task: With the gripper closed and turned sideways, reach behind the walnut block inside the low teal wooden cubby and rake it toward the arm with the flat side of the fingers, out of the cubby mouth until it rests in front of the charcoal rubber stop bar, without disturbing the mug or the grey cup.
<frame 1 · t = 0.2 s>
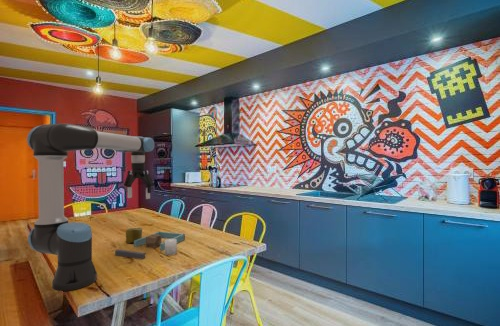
hand: (138, 198, 160), 27 cm above the table, fingers open, 13 cm apart
grey cup: (170, 253, 143), on the table
walnut block: (153, 246, 155), on the table
mug: (135, 241, 166), on the table
cubby: (160, 243, 161), on the table
stop bar: (130, 256, 139), on the table
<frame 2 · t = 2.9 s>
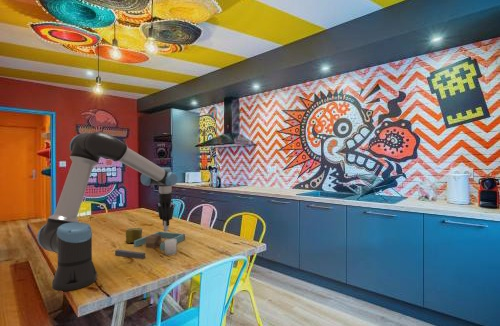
hand: (166, 230, 166), 6 cm above the table, fingers closed
nothing on the table moved.
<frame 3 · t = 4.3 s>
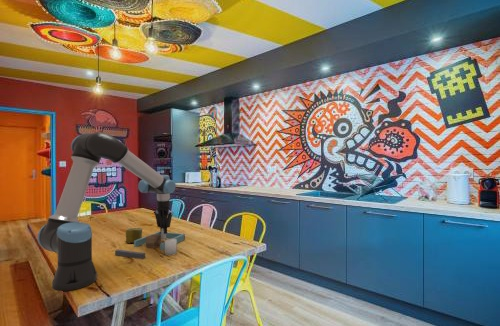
hand: (163, 238, 164), 2 cm above the table, fingers closed
nothing on the table moved.
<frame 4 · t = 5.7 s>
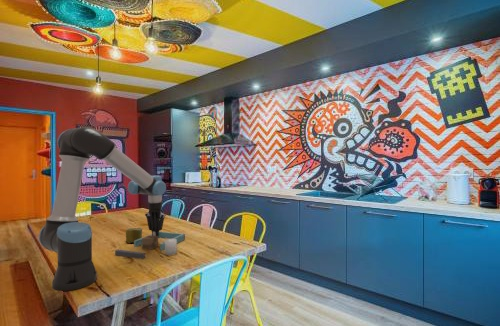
hand: (155, 242, 157), 2 cm above the table, fingers closed
walnut block: (150, 247, 153), on the table, touching gripper
everything else where it was.
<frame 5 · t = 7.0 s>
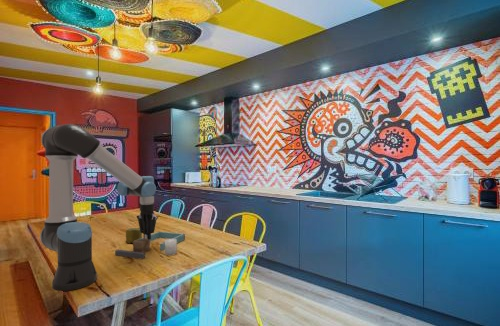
hand: (147, 245, 151), 2 cm above the table, fingers closed
walnut block: (141, 251, 146), on the table, touching gripper
everything else where it was.
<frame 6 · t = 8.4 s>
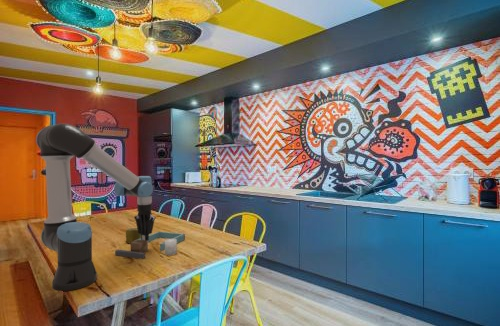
hand: (145, 246, 149), 2 cm above the table, fingers closed
walnut block: (139, 252, 145), on the table
everything else where it was.
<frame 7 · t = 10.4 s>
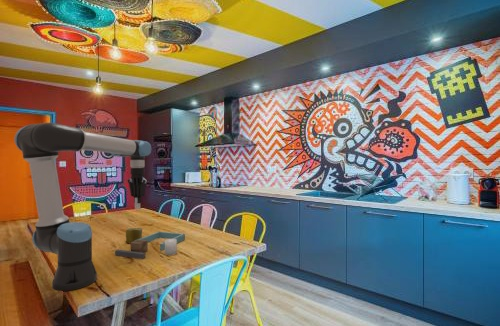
hand: (137, 208, 153), 22 cm above the table, fingers closed
nothing on the table moved.
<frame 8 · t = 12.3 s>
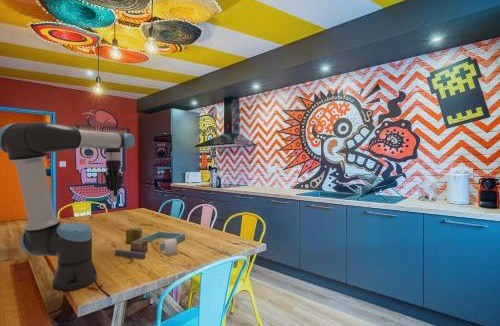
hand: (113, 201, 151), 26 cm above the table, fingers closed
nothing on the table moved.
at the end: walnut block inside the target area (0.2 cm from its centre), on the table; walnut block tilted 0°; walnut block moved 11.5 cm from its start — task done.
